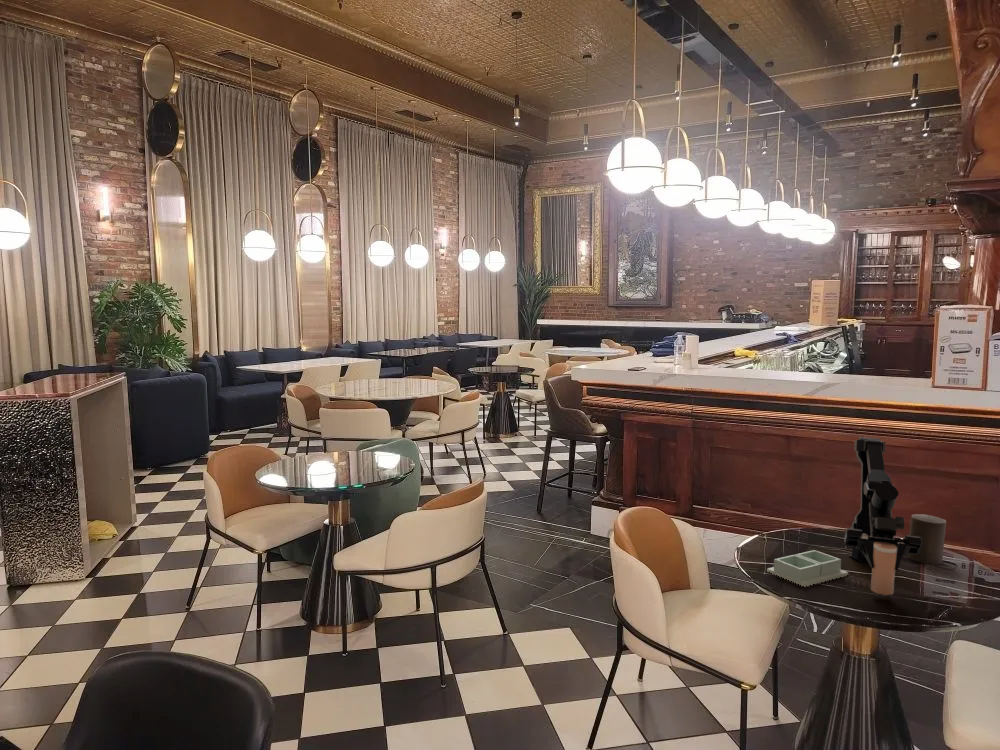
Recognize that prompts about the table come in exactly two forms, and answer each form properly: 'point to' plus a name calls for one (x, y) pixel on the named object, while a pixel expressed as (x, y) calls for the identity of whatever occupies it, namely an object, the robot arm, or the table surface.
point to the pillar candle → (928, 538)
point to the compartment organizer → (808, 568)
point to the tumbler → (883, 568)
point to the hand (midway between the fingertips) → (884, 569)
